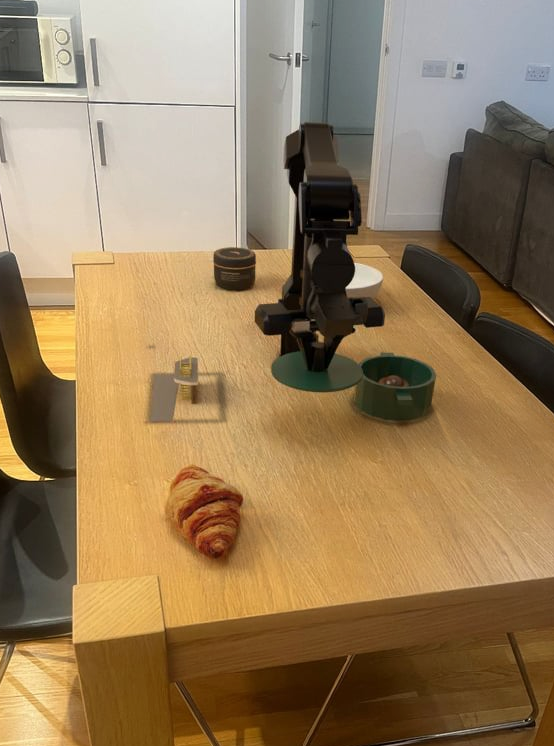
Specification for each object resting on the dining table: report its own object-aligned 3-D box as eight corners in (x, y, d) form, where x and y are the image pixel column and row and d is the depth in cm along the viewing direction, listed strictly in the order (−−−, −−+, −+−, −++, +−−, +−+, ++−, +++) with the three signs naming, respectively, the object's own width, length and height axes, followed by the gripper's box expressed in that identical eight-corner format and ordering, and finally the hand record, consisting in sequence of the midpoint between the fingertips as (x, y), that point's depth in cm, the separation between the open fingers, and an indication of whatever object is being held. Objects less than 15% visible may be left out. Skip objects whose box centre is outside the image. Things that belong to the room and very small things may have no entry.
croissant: (171, 501, 111) (142, 462, 106) (230, 465, 111) (203, 425, 106) (200, 591, 94) (167, 551, 89) (270, 550, 94) (240, 507, 89)
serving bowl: (396, 300, 177) (399, 271, 173) (352, 326, 162) (354, 295, 158) (320, 281, 186) (322, 253, 182) (272, 304, 171) (272, 274, 167)
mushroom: (374, 406, 131) (377, 380, 128) (378, 393, 135) (381, 368, 132) (404, 410, 130) (408, 384, 127) (407, 397, 134) (411, 371, 131)
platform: (149, 421, 123) (147, 385, 120) (154, 374, 138) (152, 340, 134) (223, 420, 125) (223, 384, 121) (220, 373, 140) (219, 340, 136)
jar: (219, 276, 185) (218, 244, 181) (259, 280, 184) (259, 248, 180) (209, 289, 177) (208, 256, 173) (251, 293, 176) (251, 260, 172)
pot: (360, 431, 124) (364, 395, 120) (347, 381, 140) (350, 348, 136) (440, 431, 125) (446, 396, 121) (419, 382, 141) (424, 349, 137)
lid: (272, 395, 111) (272, 363, 108) (269, 355, 123) (270, 325, 120) (368, 397, 112) (371, 365, 109) (356, 357, 124) (359, 327, 121)
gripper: (276, 290, 99) (273, 398, 108) (406, 282, 104) (393, 385, 113) (254, 264, 108) (253, 366, 116) (375, 258, 113) (365, 355, 122)
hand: (316, 368), depth 117 cm, fingers closed on lid, 2 cm apart
